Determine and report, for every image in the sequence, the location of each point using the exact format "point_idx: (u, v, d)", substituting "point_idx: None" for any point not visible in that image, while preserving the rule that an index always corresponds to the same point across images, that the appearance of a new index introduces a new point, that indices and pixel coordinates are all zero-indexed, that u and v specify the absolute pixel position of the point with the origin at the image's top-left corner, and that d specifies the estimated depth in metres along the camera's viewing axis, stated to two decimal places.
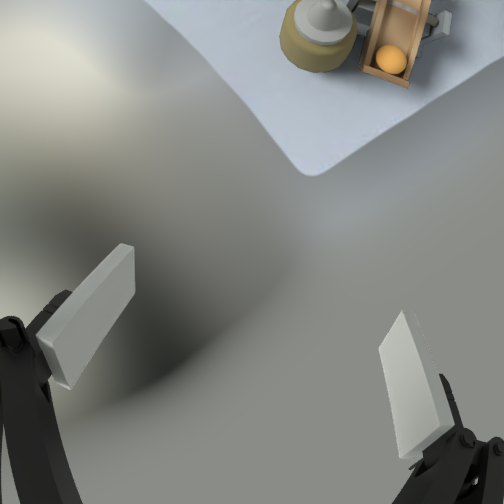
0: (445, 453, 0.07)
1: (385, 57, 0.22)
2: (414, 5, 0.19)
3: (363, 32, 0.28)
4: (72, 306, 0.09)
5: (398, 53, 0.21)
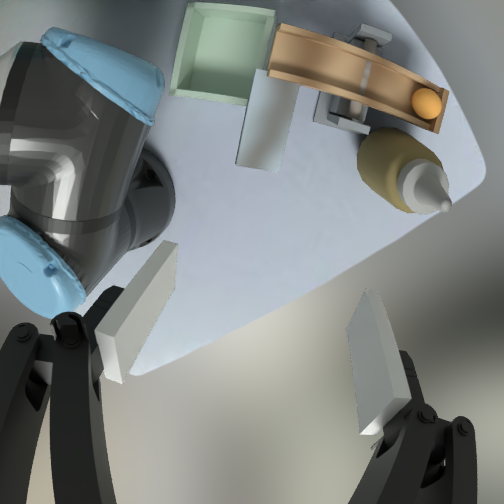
0: (404, 432, 0.07)
1: (432, 114, 0.23)
2: (361, 63, 0.23)
3: None
4: (128, 300, 0.10)
5: (428, 100, 0.22)
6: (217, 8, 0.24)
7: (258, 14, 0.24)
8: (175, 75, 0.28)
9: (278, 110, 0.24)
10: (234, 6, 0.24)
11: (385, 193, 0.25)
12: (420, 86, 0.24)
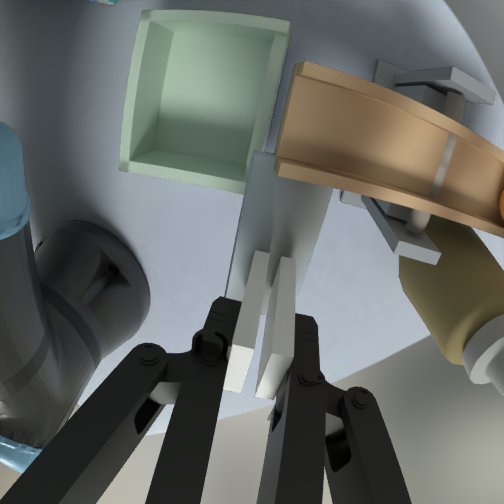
0: (287, 401, 0.08)
1: None
2: (441, 140, 0.13)
3: None
4: (251, 312, 0.11)
5: None
6: (189, 19, 0.14)
7: (260, 28, 0.14)
8: (126, 138, 0.18)
9: (294, 229, 0.15)
10: (218, 14, 0.14)
11: (442, 349, 0.16)
12: None
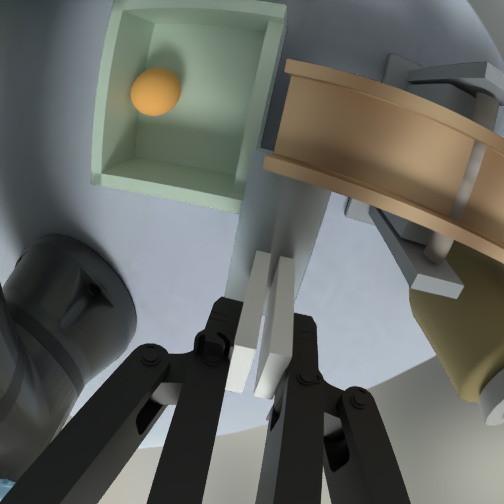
0: (285, 401, 0.08)
1: None
2: (464, 148, 0.10)
3: None
4: (253, 312, 0.11)
5: None
6: (166, 5, 0.11)
7: (250, 14, 0.11)
8: (97, 147, 0.15)
9: (290, 229, 0.15)
10: None
11: (457, 388, 0.13)
12: None
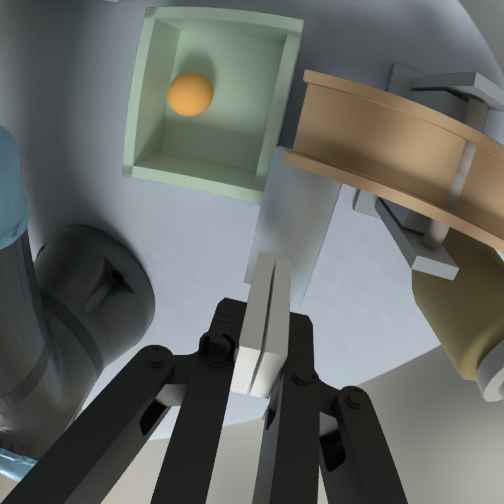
0: (280, 400, 0.08)
1: None
2: (457, 147, 0.12)
3: None
4: (257, 313, 0.11)
5: None
6: (196, 16, 0.13)
7: (272, 27, 0.14)
8: (129, 142, 0.18)
9: (305, 217, 0.17)
10: (227, 11, 0.13)
11: (456, 365, 0.14)
12: None
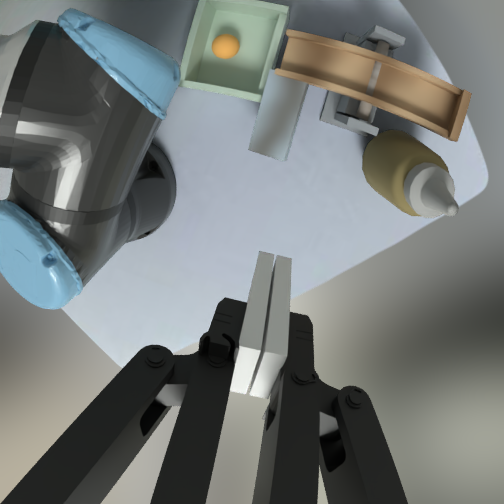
0: (280, 400, 0.08)
1: None
2: (370, 64, 0.23)
3: None
4: (257, 313, 0.11)
5: None
6: (230, 1, 0.23)
7: (271, 10, 0.24)
8: (184, 66, 0.28)
9: (286, 105, 0.27)
10: (248, 0, 0.23)
11: (391, 195, 0.25)
12: (441, 90, 0.21)
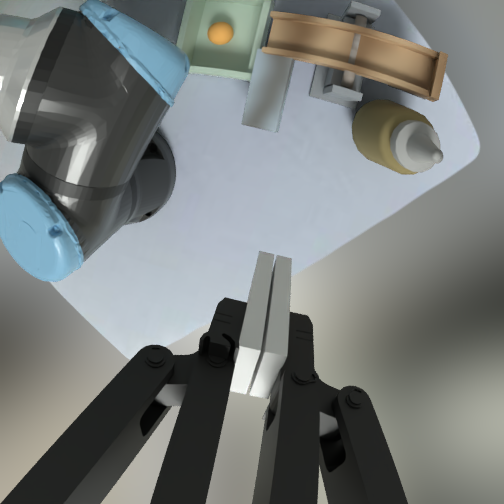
0: (280, 400, 0.08)
1: None
2: (350, 36, 0.23)
3: (359, 80, 0.31)
4: (257, 313, 0.11)
5: None
6: None
7: None
8: None
9: (274, 80, 0.28)
10: None
11: (379, 154, 0.26)
12: (420, 55, 0.21)
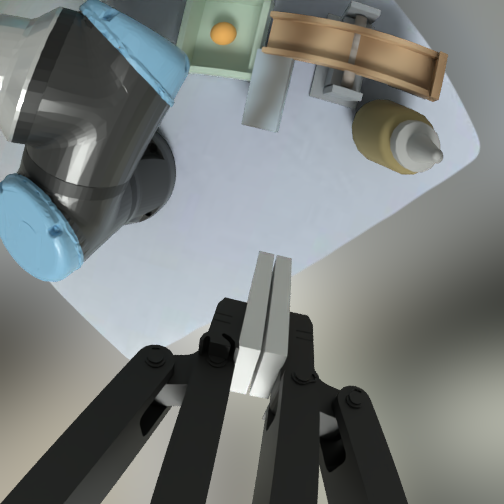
0: (280, 400, 0.08)
1: None
2: (350, 36, 0.23)
3: (359, 80, 0.31)
4: (257, 313, 0.11)
5: None
6: None
7: None
8: None
9: (274, 80, 0.28)
10: None
11: (379, 154, 0.26)
12: (420, 55, 0.21)
